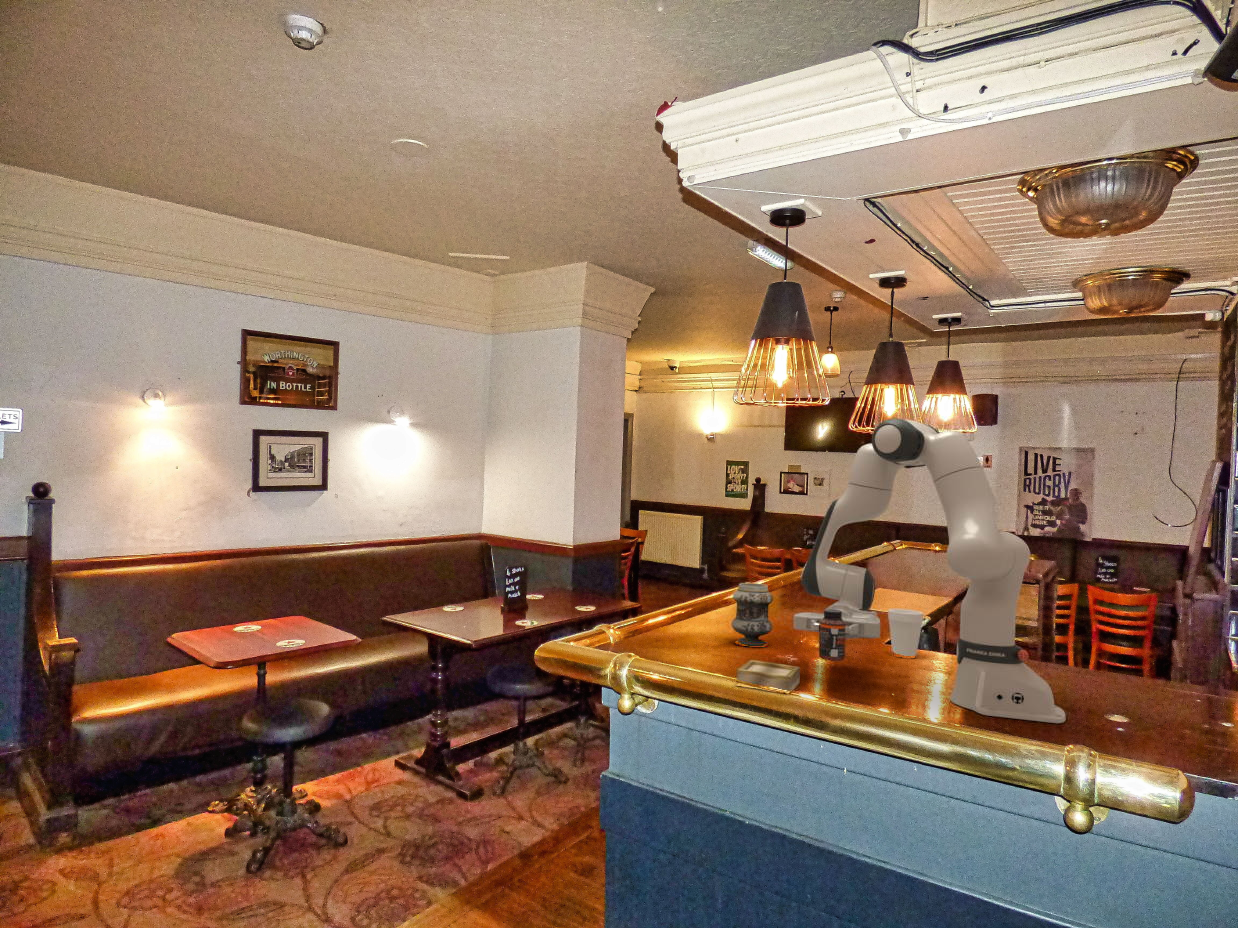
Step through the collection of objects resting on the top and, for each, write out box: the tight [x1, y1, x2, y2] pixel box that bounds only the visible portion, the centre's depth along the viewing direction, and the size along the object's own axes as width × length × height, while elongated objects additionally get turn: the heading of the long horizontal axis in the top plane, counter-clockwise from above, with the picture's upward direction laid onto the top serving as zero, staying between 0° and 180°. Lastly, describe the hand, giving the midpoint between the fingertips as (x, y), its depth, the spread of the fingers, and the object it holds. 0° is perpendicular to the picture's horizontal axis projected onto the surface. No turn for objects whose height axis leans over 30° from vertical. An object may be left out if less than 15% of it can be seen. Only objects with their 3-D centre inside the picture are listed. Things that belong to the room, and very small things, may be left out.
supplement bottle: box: [818, 608, 846, 662], centre depth 172 cm, size 6×6×11 cm
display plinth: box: [736, 659, 801, 692], centre depth 173 cm, size 12×12×4 cm
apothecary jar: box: [731, 582, 774, 646], centre depth 219 cm, size 12×12×18 cm
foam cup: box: [887, 608, 924, 656], centre depth 213 cm, size 10×9×13 cm
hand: (831, 629), depth 171 cm, fingers closed on supplement bottle, 6 cm apart
